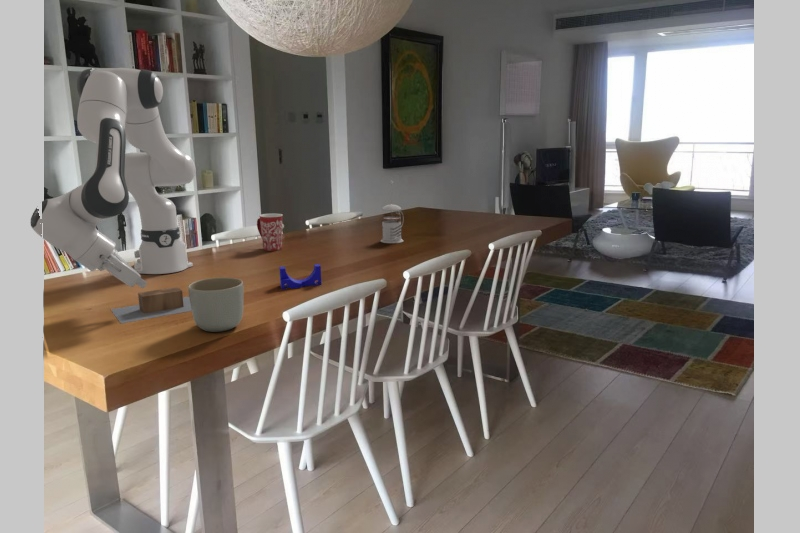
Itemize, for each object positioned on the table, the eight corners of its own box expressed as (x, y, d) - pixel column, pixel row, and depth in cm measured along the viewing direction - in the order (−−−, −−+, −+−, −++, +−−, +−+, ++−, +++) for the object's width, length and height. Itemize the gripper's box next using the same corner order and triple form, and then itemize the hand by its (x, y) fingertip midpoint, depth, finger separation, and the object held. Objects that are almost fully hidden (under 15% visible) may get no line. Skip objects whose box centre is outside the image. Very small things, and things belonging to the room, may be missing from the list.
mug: (289, 248, 231) (287, 214, 228) (270, 252, 224) (268, 217, 221) (269, 244, 239) (267, 211, 236) (251, 248, 232) (248, 214, 229)
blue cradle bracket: (281, 289, 174) (280, 270, 172) (280, 286, 178) (279, 266, 176) (322, 286, 177) (321, 267, 176) (319, 282, 181) (319, 263, 180)
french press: (375, 241, 244) (374, 180, 238) (393, 237, 253) (392, 178, 247) (393, 244, 238) (392, 182, 232) (411, 239, 247) (411, 180, 241)
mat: (110, 310, 154) (110, 309, 154) (195, 296, 167) (195, 295, 166) (120, 324, 143) (120, 323, 143) (210, 308, 155) (210, 307, 155)
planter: (248, 332, 137) (245, 287, 135) (192, 339, 133) (188, 293, 131) (243, 316, 149) (240, 275, 146) (191, 322, 145) (187, 279, 142)
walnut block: (137, 292, 153) (177, 286, 158) (139, 309, 154) (179, 302, 159) (141, 296, 149) (182, 290, 155) (143, 313, 150) (183, 306, 156)
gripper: (114, 249, 136) (162, 283, 144) (99, 236, 152) (143, 267, 160) (95, 271, 135) (145, 304, 142) (82, 255, 151) (127, 286, 159)
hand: (144, 284), depth 151 cm, fingers closed
